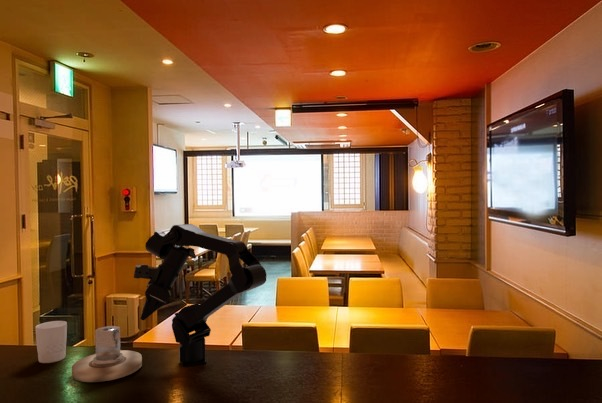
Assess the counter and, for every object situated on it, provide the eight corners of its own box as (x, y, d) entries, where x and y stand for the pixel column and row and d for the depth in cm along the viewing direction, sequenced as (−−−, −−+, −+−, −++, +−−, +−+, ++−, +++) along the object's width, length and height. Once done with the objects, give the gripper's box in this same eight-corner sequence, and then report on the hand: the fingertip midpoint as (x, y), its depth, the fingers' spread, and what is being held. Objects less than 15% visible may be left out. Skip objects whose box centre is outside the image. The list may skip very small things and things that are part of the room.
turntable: (142, 355, 126) (142, 347, 126) (141, 377, 110) (141, 367, 110) (77, 364, 121) (77, 355, 121) (66, 388, 105) (66, 378, 105)
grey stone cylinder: (123, 354, 120) (123, 324, 120) (122, 363, 113) (121, 331, 113) (95, 358, 118) (94, 327, 118) (91, 367, 111) (91, 334, 111)
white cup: (53, 365, 121) (52, 329, 121) (29, 363, 122) (28, 327, 122) (73, 355, 128) (73, 321, 128) (50, 353, 130) (50, 320, 130)
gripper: (147, 250, 130) (119, 297, 127) (144, 254, 112) (111, 309, 109) (180, 267, 133) (153, 314, 130) (183, 274, 115) (151, 328, 112)
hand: (142, 316), depth 120 cm, fingers open, 9 cm apart
